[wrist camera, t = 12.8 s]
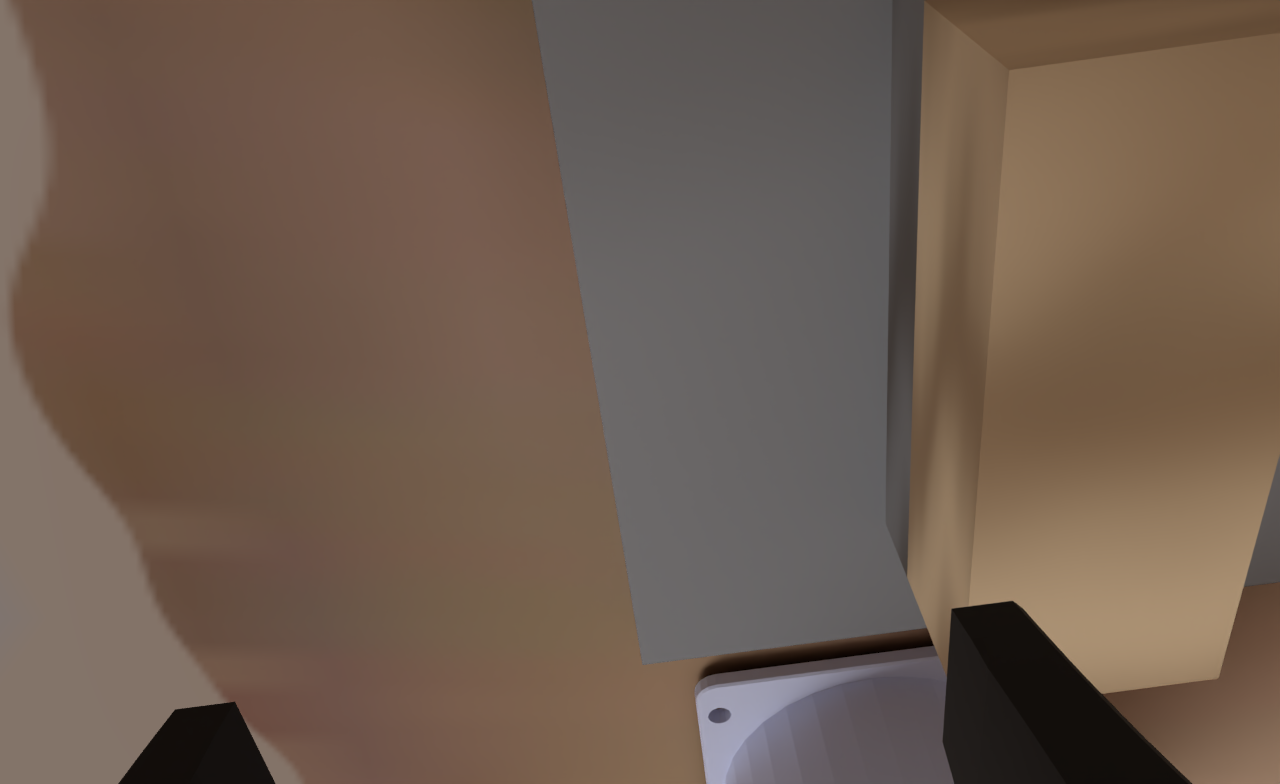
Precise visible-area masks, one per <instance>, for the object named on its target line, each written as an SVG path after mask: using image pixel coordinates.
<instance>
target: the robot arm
mask: <svg viewBox="0 0 1280 784" xmlns="http://www.w3.org/2000/svg"><path fill="white" fill-rule="evenodd" d="M695 699H696V707H697V714H698V722H699V730H700V738H701V745H702V753H703V761H704V769H705V776H706V784H1192V783H1191V782H1190V781H1189V780H1188V779H1187V778H1186V777H1185V776H1184V775H1183V774H1181V773H1180V772H1179V771H1178V770H1177V769H1176V768H1175V767H1174V766H1173V765H1172V764H1171V763H1170V762H1169V761H1168V760H1167V759H1166V758H1165V757H1164V756H1163V755H1162V754H1161V753H1160V752H1159V751H1158V750H1157V749H1156V748H1155V747H1154V746H1153V745H1152V744H1151V743H1150V742H1148V741H1147V740H1146V739H1145V738H1144V737H1143V736H1142V735H1141V734H1140V733H1139V732H1138V731H1137V730H1136V729H1135V728H1134V727H1133V726H1132V725H1131V724H1130V723H1129V722H1128V721H1127V719H1126V718H1125V717H1124V716H1123V715H1122V714H1121V713H1120V712H1119V711H1118V710H1117V709H1116V708H1115V707H1114V706H1113V705H1112V704H1111V703H1110V702H1109V701H1108V700H1107V699H1106V698H1105V697H1104V696H1103V695H1102V694H1101V693H1100V692H1099V691H1098V689H1097V688H1096V687H1095V686H1094V685H1093V684H1092V683H1091V682H1090V681H1089V680H1088V679H1087V678H1086V677H1085V676H1084V675H1083V674H1082V673H1081V672H1080V671H1079V669H1078V668H1077V667H1076V666H1075V665H1074V664H1073V663H1072V662H1071V661H1070V660H1069V659H1068V658H1067V657H1066V655H1065V654H1064V653H1063V652H1062V651H1061V650H1060V649H1059V648H1058V647H1057V646H1056V645H1055V643H1054V642H1053V641H1052V640H1051V639H1050V638H1049V637H1048V636H1047V635H1046V634H1045V632H1044V631H1043V630H1042V629H1041V628H1040V627H1039V626H1038V625H1037V624H1036V622H1035V621H1034V620H1033V619H1032V618H1031V617H1030V616H1029V615H1028V614H1027V612H1026V611H1025V610H1024V609H1023V608H1022V607H1021V606H1019V605H1018V604H1017V603H1015V602H1014V601H1006V602H999V603H991V604H983V605H976V606H968V607H960V608H953V609H951V623H950V637H949V652H948V667H947V677H946V674H945V672H944V669H943V667H942V664H941V662H940V659H939V657H938V654H937V652H936V649H935V646H928V647H920V648H913V649H905V650H897V651H890V652H882V653H874V654H866V655H859V656H851V657H843V658H836V659H828V660H820V661H812V662H805V663H797V664H789V665H782V666H774V667H766V668H758V669H751V670H743V671H735V672H728V673H720V674H713V675H710V676H707V677H705V678H703V679H702V680H700V681H699V682H698V684H697V685H696V686H695ZM717 708H722V709H717ZM119 784H275V782H274V780H273V778H272V776H271V774H270V772H269V770H268V768H267V766H266V764H265V762H264V760H263V758H262V756H261V754H260V752H259V750H258V748H257V746H256V743H255V742H254V739H253V737H252V735H251V733H250V731H249V729H248V727H247V725H246V723H245V721H244V719H243V717H242V715H241V713H240V711H239V709H238V707H237V705H236V703H235V702H230V703H222V704H215V705H207V706H199V707H192V708H184V709H177V710H175V711H174V712H173V713H172V714H171V716H170V717H169V718H168V719H167V721H166V722H165V723H164V725H163V726H162V727H161V728H160V730H159V731H158V732H157V734H156V735H155V736H154V737H153V739H152V740H151V741H150V743H149V744H148V745H147V747H146V748H145V749H144V750H143V752H142V753H141V754H140V756H139V757H138V758H137V760H136V761H135V762H134V764H133V765H132V766H131V768H130V769H129V770H128V772H127V773H126V774H125V776H124V777H123V778H122V780H121V781H120V782H119Z"/></svg>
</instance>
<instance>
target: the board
mask: <svg viewBox="0 0 1280 784" xmlns="http://www.w3.org/2000/svg"><path fill="white" fill-rule="evenodd" d="M532 4H533V10H534V16H535V22H536V28H537V34H538V40H539V46H540V52H541V58H542V64H543V70H544V76H545V82H546V88H547V94H548V100H549V106H550V112H551V118H552V124H553V130H554V136H555V142H556V148H557V154H558V160H559V166H560V172H561V178H562V184H563V190H564V196H565V202H566V208H567V214H568V220H569V226H570V232H571V238H572V244H573V250H574V256H575V262H576V268H577V274H578V280H579V286H580V292H581V298H582V304H583V310H584V316H585V322H586V328H587V334H588V340H589V346H590V352H591V358H592V364H593V370H594V376H595V382H596V388H597V394H598V400H599V406H600V412H601V418H602V424H603V430H604V436H605V442H606V448H607V454H608V460H609V466H610V472H611V478H612V484H613V490H614V496H615V502H616V508H617V514H618V520H619V526H620V532H621V538H622V544H623V550H624V556H625V562H626V568H627V574H628V580H629V586H630V592H631V598H632V604H633V610H634V616H635V622H636V628H637V634H638V640H639V646H640V652H641V658H642V664H643V665H646V664H653V663H661V662H669V661H676V660H684V659H692V658H699V657H707V656H715V655H723V654H730V653H738V652H746V651H753V650H761V649H769V648H776V647H784V646H792V645H800V644H807V643H815V642H823V641H830V640H838V639H846V638H853V637H861V636H869V635H877V634H884V633H892V632H900V631H907V630H915V629H923V628H927V626H926V624H925V621H924V619H923V616H922V614H921V611H920V609H919V606H918V604H917V601H916V599H915V596H914V594H913V591H912V589H911V586H910V583H909V581H908V578H907V576H906V573H905V571H904V568H903V566H902V563H901V561H900V558H899V556H898V553H897V551H896V548H895V546H894V543H893V541H892V538H891V536H890V533H889V531H888V528H887V525H886V523H885V521H886V446H887V372H888V298H889V223H890V149H891V75H892V0H532ZM1277 582H1280V455H1279V459H1278V463H1277V466H1276V470H1275V474H1274V477H1273V481H1272V484H1271V488H1270V492H1269V495H1268V499H1267V503H1266V506H1265V510H1264V514H1263V517H1262V521H1261V525H1260V528H1259V532H1258V536H1257V539H1256V543H1255V547H1254V550H1253V554H1252V558H1251V561H1250V565H1249V568H1248V572H1247V576H1246V579H1245V583H1244V587H1246V586H1254V585H1262V584H1269V583H1277Z"/></svg>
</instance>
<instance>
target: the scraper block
mask: <svg viewBox="0 0 1280 784" xmlns="http://www.w3.org/2000/svg"><path fill="white" fill-rule="evenodd" d="M1279 455H1280V0H892V75H891V149H890V223H889V298H888V372H887V446H886V521H885V523H886V525H887V528H888V531H889V533H890V536H891V538H892V541H893V543H894V546H895V548H896V551H897V553H898V556H899V558H900V561H901V563H902V566H903V568H904V571H905V573H906V576H907V578H908V581H909V583H910V586H911V589H912V591H913V594H914V596H915V599H916V601H917V604H918V606H919V609H920V611H921V614H922V616H923V619H924V621H925V624H926V626H927V629H928V631H929V634H930V636H931V639H932V641H933V644H934V646H935V649H936V652H937V654H938V657H939V659H940V662H941V664H942V667H943V669H944V672H945V674H946V677H947V667H948V652H949V637H950V623H951V609H953V608H960V607H968V606H976V605H983V604H991V603H999V602H1006V601H1014V602H1015V603H1017V604H1018V605H1019V606H1021V607H1022V608H1023V609H1024V610H1025V611H1026V612H1027V614H1028V615H1029V616H1030V617H1031V618H1032V619H1033V620H1034V621H1035V622H1036V624H1037V625H1038V626H1039V627H1040V628H1041V629H1042V630H1043V631H1044V632H1045V634H1046V635H1047V636H1048V637H1049V638H1050V639H1051V640H1052V641H1053V642H1054V643H1055V645H1056V646H1057V647H1058V648H1059V649H1060V650H1061V651H1062V652H1063V653H1064V654H1065V655H1066V657H1067V658H1068V659H1069V660H1070V661H1071V662H1072V663H1073V664H1074V665H1075V666H1076V667H1077V668H1078V669H1079V671H1080V672H1081V673H1082V674H1083V675H1084V676H1085V677H1086V678H1087V679H1088V680H1089V681H1090V682H1091V683H1092V684H1093V685H1094V686H1095V687H1096V688H1097V689H1098V691H1099V692H1100V693H1101V694H1105V693H1112V692H1120V691H1127V690H1135V689H1143V688H1150V687H1158V686H1165V685H1173V684H1181V683H1188V682H1196V681H1204V680H1211V679H1218V678H1219V674H1220V671H1221V667H1222V663H1223V660H1224V656H1225V652H1226V649H1227V645H1228V642H1229V638H1230V634H1231V631H1232V627H1233V623H1234V620H1235V616H1236V612H1237V609H1238V605H1239V601H1240V598H1241V594H1242V590H1243V587H1244V583H1245V579H1246V576H1247V572H1248V568H1249V565H1250V561H1251V558H1252V554H1253V550H1254V547H1255V543H1256V539H1257V536H1258V532H1259V528H1260V525H1261V521H1262V517H1263V514H1264V510H1265V506H1266V503H1267V499H1268V495H1269V492H1270V488H1271V484H1272V481H1273V477H1274V474H1275V470H1276V466H1277V463H1278V459H1279Z"/></svg>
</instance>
